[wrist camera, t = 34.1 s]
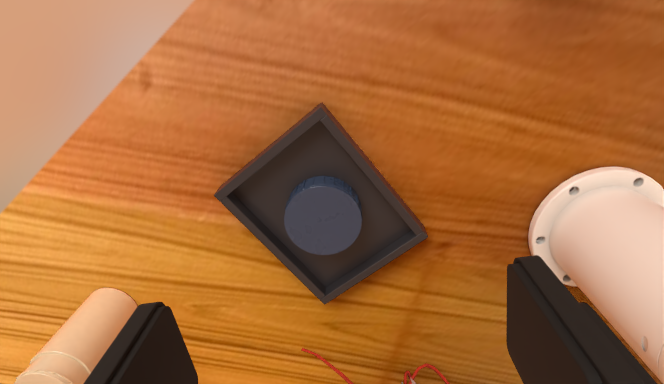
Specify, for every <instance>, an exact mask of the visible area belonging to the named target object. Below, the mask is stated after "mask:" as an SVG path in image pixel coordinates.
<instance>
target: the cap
mask: <svg viewBox="0 0 664 384" xmlns="http://www.w3.org/2000/svg"><path fill="white" fill-rule="evenodd" d="M285 210H286V211H285V215H284V225H285V229H286V232H287V234H288V236H289V238H290V239H291V240H292V241H293V243H294V244H295V245H297V246H298V247H299V248H301V249H302V250H304V251H306V252H309V253H312V254H316V255H331V254H336V253H339V252H341V251H343V250H345V249H347V248H348V247H349V246H350V245H352V244H353V243H354V241H355V240H356V239H357V237H358V235H359V233H360V230H361V226H362V220H363V219H362V210H361V202H360V201H359V198H358V195H357V194H356V193H355V191H354V190H353V189H352V187H350V186H349V185H348V184H347V183H345V182H344V181H342V180H340V179H338V178H335V177H330V176H317V177H312V178H309V179H307V180H304V181H303V182H302V183H300V184H299V185H298V186H296V188H295V189H294V190H293V192H292V193H291V194H290V197H289V200H288V201H287V204H286V207H285Z"/></svg>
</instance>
